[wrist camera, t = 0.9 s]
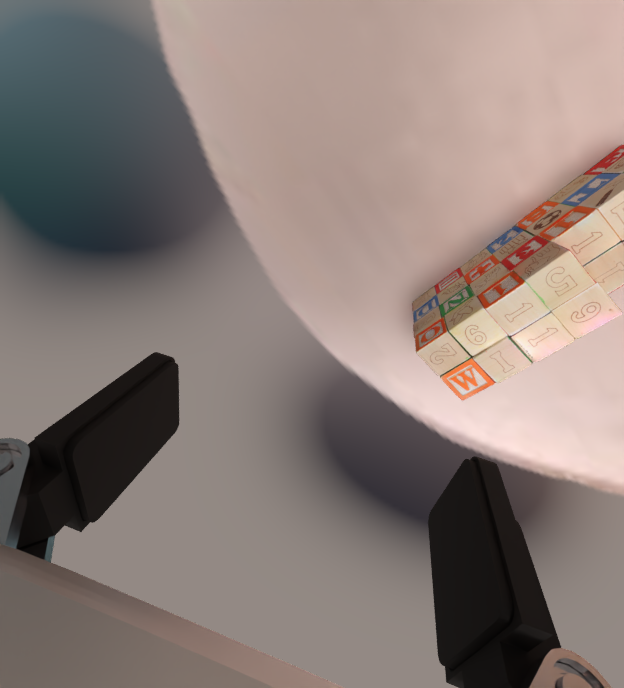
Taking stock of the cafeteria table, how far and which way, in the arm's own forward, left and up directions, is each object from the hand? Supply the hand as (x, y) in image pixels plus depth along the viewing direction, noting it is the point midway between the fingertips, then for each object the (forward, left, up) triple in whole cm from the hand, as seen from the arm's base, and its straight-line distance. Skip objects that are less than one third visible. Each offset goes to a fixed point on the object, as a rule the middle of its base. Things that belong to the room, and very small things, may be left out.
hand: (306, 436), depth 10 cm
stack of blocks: (-2, +14, -30) cm, 33 cm away
